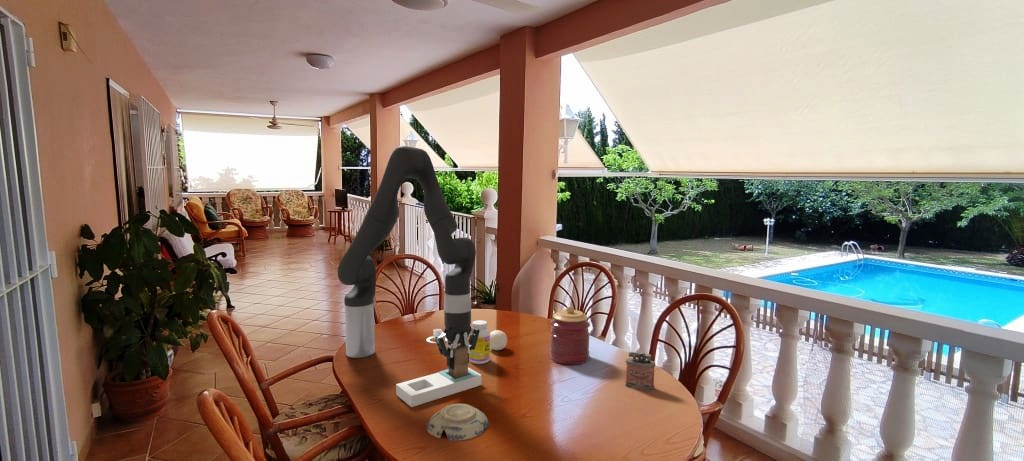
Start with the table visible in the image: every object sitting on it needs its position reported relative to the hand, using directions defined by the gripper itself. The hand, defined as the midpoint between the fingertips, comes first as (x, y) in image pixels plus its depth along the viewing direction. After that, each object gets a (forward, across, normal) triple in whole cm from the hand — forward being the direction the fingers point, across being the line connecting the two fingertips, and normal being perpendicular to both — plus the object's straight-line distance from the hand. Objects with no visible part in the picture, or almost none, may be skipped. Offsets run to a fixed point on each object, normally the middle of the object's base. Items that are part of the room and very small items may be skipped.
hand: (458, 366), depth 136 cm
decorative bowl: (+6, +12, +19) cm, 23 cm away
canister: (+5, -40, +5) cm, 41 cm away
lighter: (+5, -40, +33) cm, 52 cm away
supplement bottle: (+5, -15, -11) cm, 19 cm away
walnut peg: (+4, 0, 0) cm, 4 cm away
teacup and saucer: (+6, -18, -37) cm, 41 cm away
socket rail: (+5, +6, 0) cm, 8 cm away
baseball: (+5, -26, -16) cm, 31 cm away
